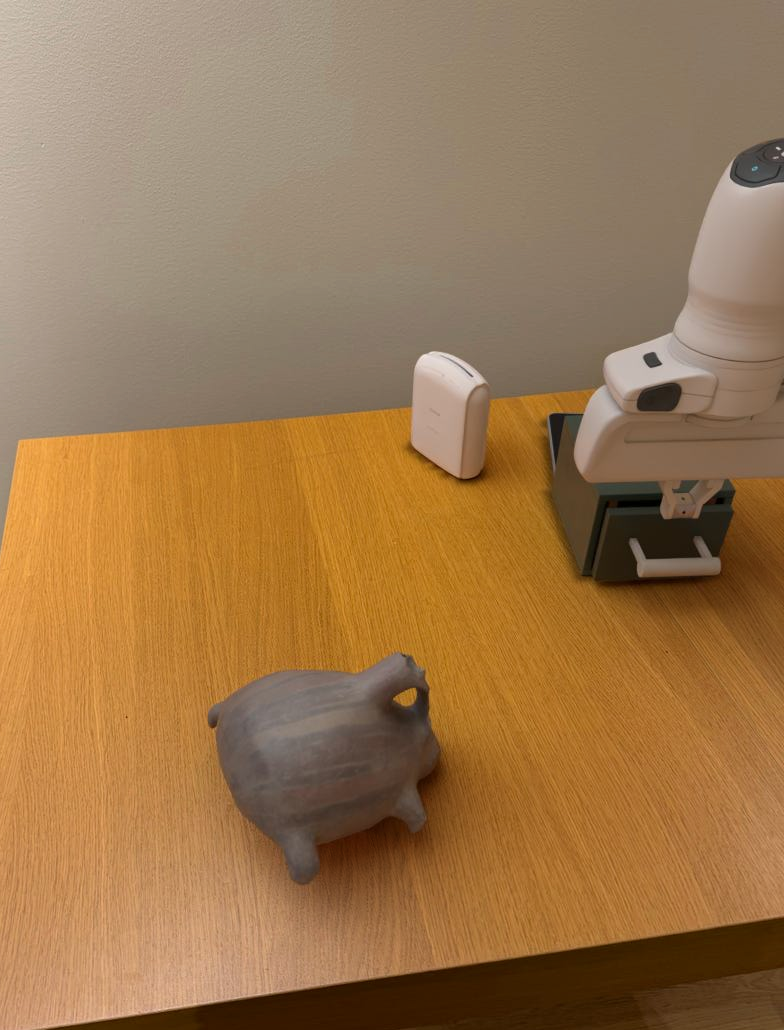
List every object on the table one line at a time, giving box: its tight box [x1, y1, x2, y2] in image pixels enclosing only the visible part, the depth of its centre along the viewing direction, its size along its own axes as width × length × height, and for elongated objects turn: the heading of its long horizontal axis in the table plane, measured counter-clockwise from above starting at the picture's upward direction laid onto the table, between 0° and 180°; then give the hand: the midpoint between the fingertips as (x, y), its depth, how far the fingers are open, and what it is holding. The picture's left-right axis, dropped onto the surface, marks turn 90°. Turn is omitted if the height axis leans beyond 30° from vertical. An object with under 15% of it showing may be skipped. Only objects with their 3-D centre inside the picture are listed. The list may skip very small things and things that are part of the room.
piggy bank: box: [207, 651, 442, 886], centre depth 69 cm, size 18×16×14 cm
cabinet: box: [550, 415, 737, 576], centre depth 93 cm, size 15×13×10 cm
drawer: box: [591, 498, 735, 582], centre depth 90 cm, size 18×11×8 cm, turn 1°
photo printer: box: [410, 351, 492, 480], centre depth 104 cm, size 10×4×12 cm, turn 32°
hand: (678, 515), depth 82 cm, fingers closed
